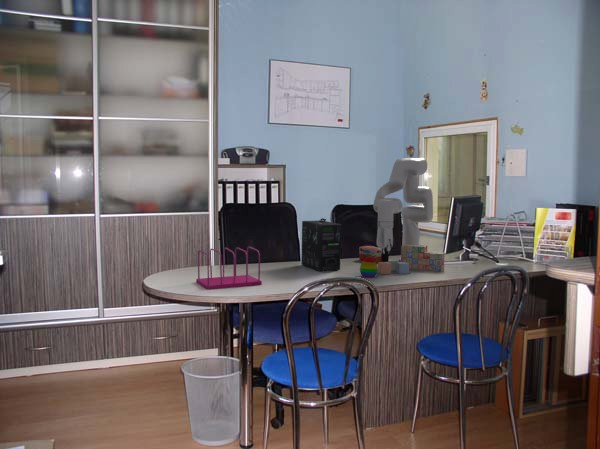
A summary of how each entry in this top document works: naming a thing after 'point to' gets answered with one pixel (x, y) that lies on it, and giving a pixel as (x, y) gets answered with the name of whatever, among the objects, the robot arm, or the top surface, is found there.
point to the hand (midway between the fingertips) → (384, 261)
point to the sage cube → (392, 264)
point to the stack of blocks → (422, 258)
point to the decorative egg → (368, 268)
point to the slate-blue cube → (402, 267)
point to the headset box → (321, 245)
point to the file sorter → (229, 280)
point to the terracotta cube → (384, 268)
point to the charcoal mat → (389, 274)
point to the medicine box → (370, 253)
